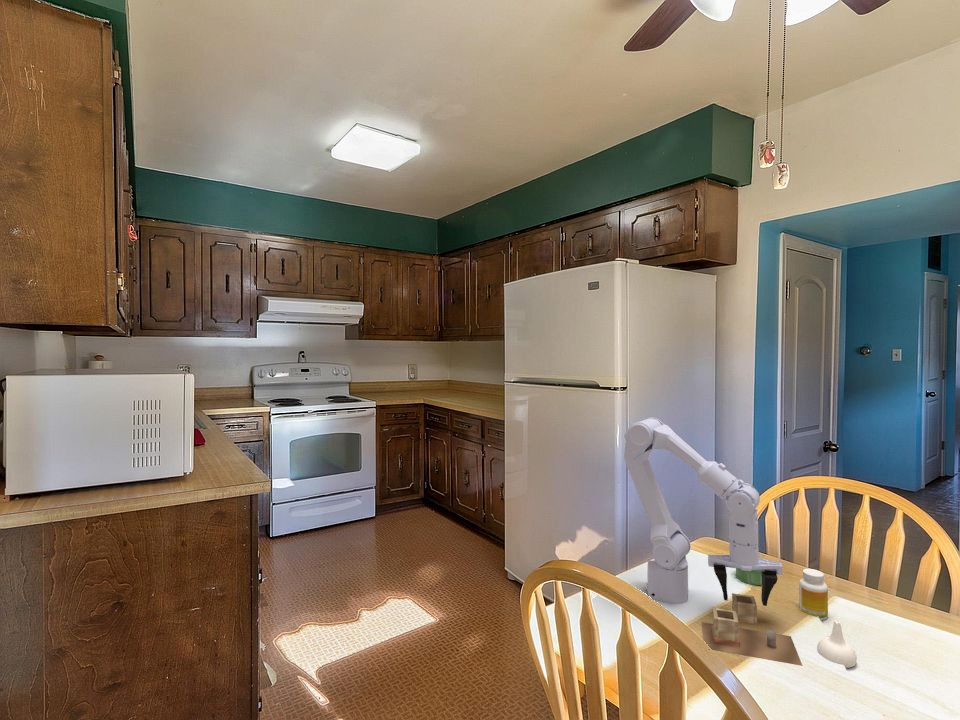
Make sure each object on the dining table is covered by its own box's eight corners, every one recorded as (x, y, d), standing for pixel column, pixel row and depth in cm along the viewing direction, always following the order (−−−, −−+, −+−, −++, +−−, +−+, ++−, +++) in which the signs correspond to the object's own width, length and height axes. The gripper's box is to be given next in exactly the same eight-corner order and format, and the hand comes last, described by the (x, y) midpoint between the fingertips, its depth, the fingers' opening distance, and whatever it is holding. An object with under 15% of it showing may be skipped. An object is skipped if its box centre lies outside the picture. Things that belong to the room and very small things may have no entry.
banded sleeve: (733, 625, 110) (732, 603, 110) (730, 613, 115) (730, 592, 115) (758, 629, 109) (758, 606, 108) (755, 617, 113) (755, 595, 113)
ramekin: (737, 568, 138) (737, 552, 138) (775, 576, 132) (775, 560, 132) (731, 581, 130) (731, 564, 130) (771, 590, 125) (771, 573, 125)
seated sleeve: (713, 642, 103) (712, 618, 102) (711, 629, 107) (711, 606, 107) (740, 647, 101) (740, 623, 101) (737, 633, 105) (737, 610, 105)
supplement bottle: (832, 621, 111) (832, 578, 110) (805, 619, 112) (805, 577, 111) (821, 609, 116) (821, 567, 116) (795, 607, 117) (795, 566, 117)
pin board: (704, 653, 101) (704, 633, 101) (701, 626, 110) (701, 608, 110) (802, 670, 95) (802, 650, 95) (790, 640, 104) (790, 621, 104)
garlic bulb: (811, 658, 99) (808, 620, 99) (827, 645, 102) (825, 608, 102) (847, 676, 94) (844, 636, 93) (863, 662, 97) (861, 623, 96)
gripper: (709, 543, 110) (710, 604, 110) (785, 551, 105) (786, 615, 105) (706, 532, 117) (707, 589, 117) (778, 539, 111) (779, 599, 112)
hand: (744, 600), depth 112 cm, fingers open, 7 cm apart
